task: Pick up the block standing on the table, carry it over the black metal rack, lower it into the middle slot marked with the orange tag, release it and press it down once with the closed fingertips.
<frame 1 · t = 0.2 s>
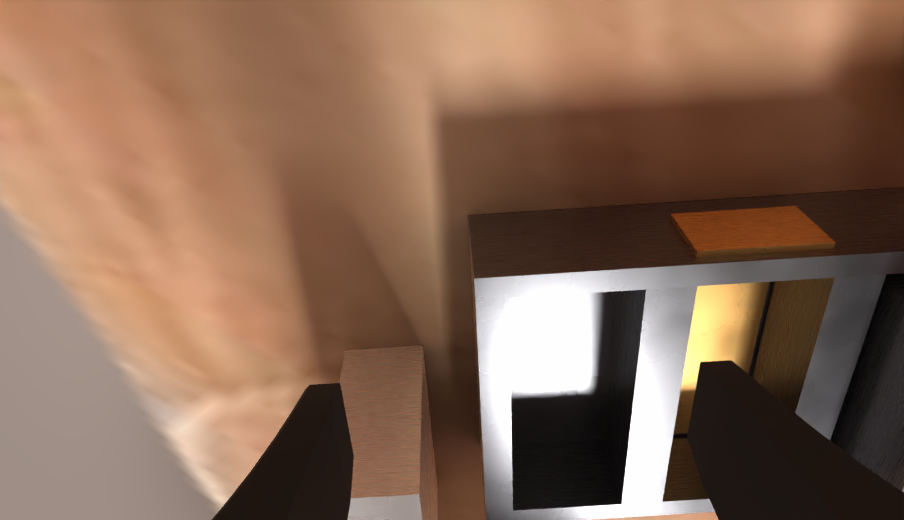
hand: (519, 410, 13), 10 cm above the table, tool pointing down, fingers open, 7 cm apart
rack: (696, 329, 25), on the table
block: (394, 422, 27), on the table
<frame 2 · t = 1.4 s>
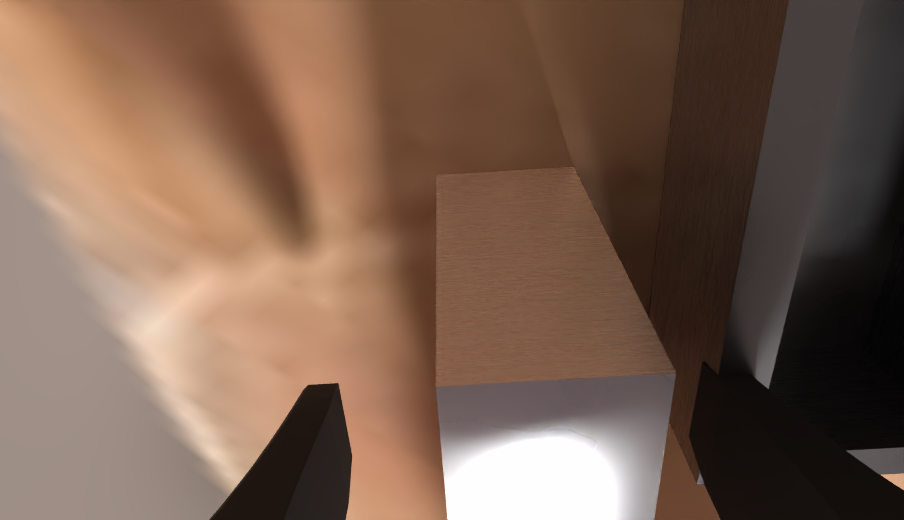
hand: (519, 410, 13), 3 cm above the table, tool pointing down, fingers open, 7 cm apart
block: (507, 319, 16), on the table
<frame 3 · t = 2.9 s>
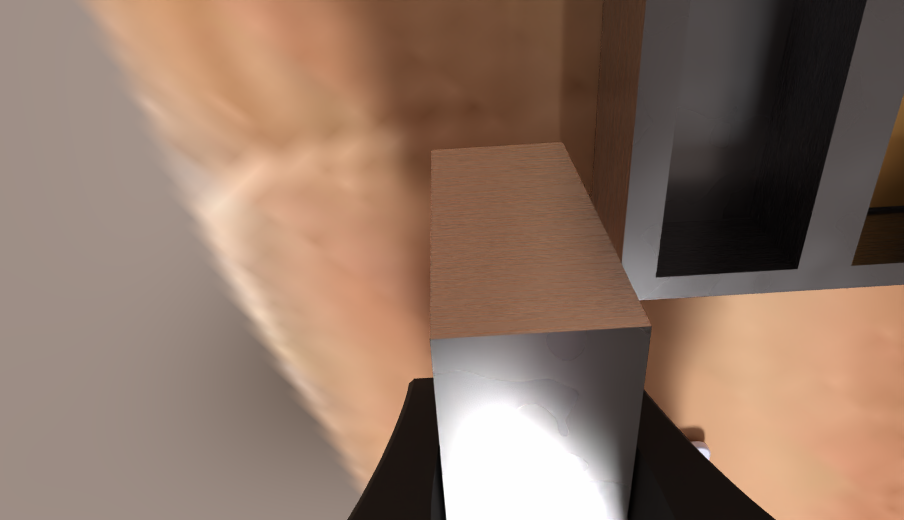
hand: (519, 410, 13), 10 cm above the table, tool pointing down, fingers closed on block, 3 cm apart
rack: (885, 55, 19), on the table
block: (499, 291, 17), point 5 cm above the table, touching gripper
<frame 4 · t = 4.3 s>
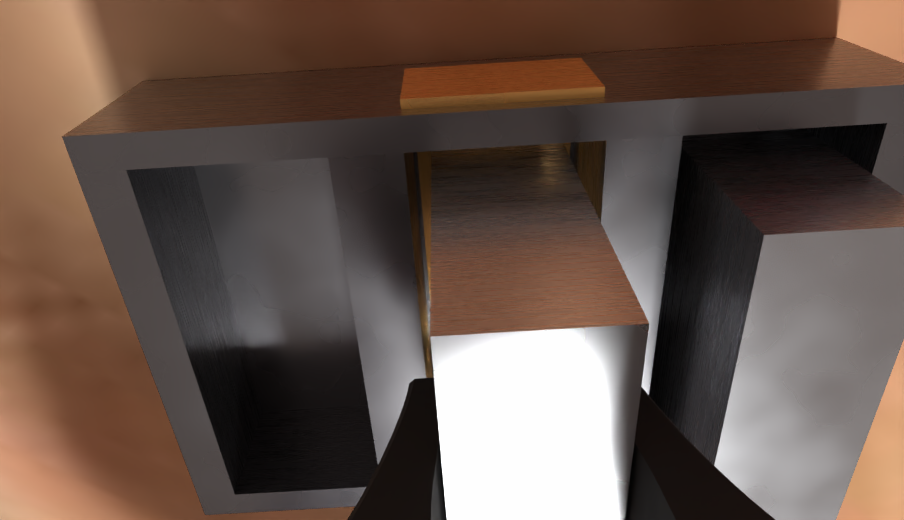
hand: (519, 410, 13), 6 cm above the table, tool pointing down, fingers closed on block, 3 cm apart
rack: (494, 254, 19), on the table
block: (499, 290, 17), point 2 cm above the table, touching gripper
when the fingers open (5 cm above the table, at t = 4.9 s): block stays where it is, resting on rack.
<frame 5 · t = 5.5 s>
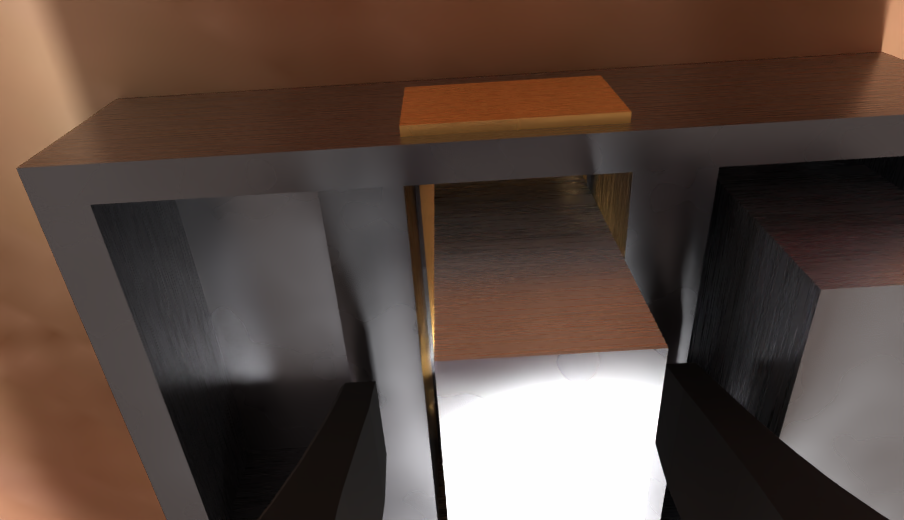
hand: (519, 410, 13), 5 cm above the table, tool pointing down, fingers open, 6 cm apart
rack: (501, 284, 17), on the table
block: (504, 303, 16), point 1 cm above the table, touching rack
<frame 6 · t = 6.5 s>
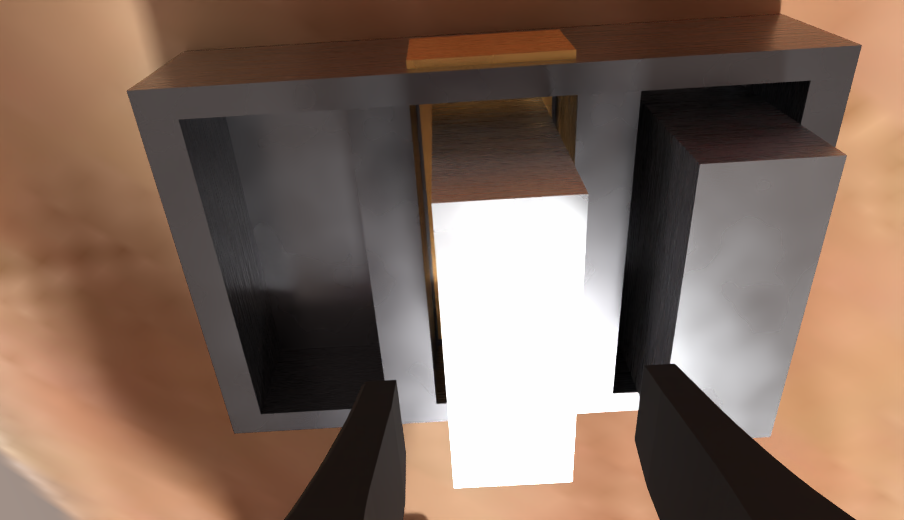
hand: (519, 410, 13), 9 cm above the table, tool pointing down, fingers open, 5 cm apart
rack: (487, 206, 21), on the table
block: (488, 219, 20), point 1 cm above the table, touching rack
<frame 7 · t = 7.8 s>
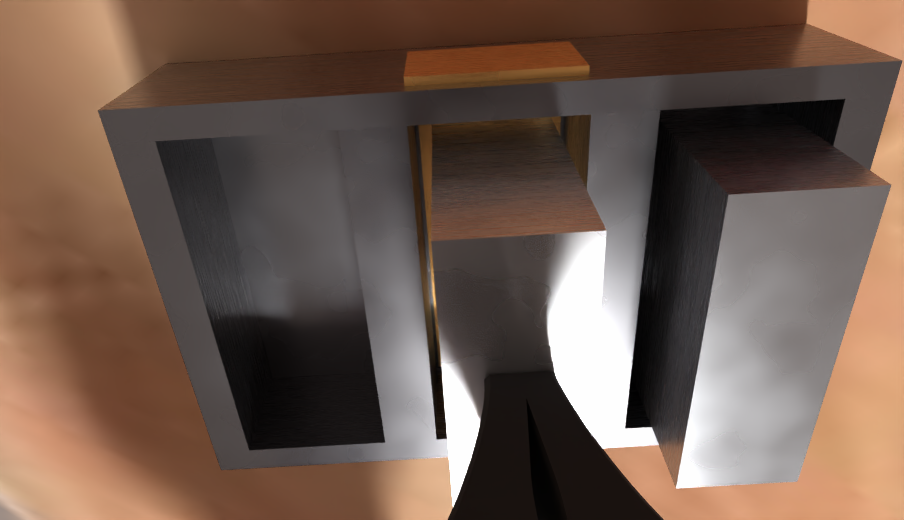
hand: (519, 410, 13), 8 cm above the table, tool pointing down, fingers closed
rack: (490, 228, 20), on the table
block: (492, 242, 19), point 1 cm above the table, touching rack
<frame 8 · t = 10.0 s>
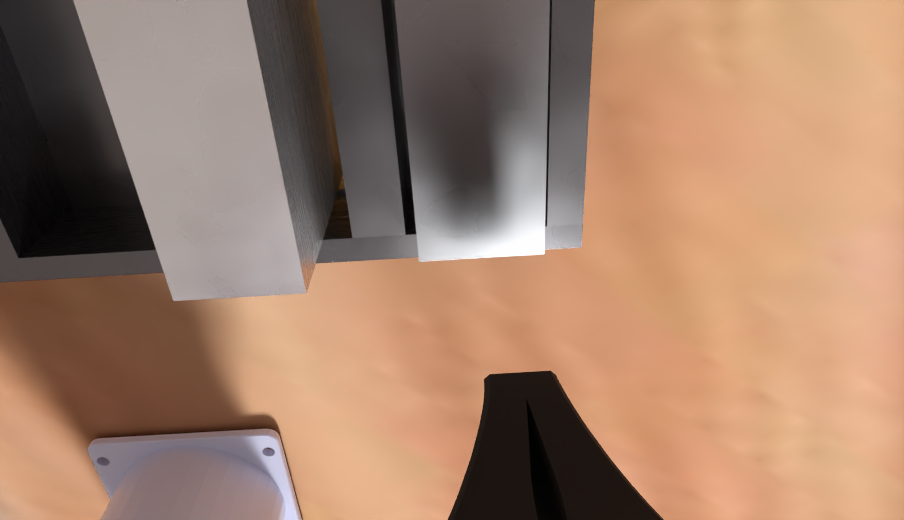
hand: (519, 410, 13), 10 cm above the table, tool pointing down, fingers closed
rack: (279, 38, 19), on the table
block: (272, 45, 18), point 1 cm above the table, touching rack
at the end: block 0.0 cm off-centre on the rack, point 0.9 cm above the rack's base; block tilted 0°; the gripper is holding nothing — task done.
